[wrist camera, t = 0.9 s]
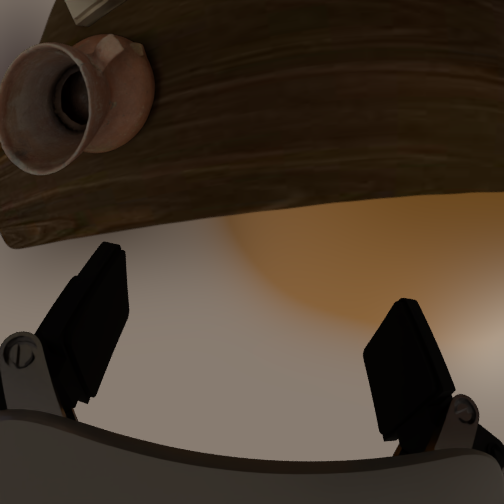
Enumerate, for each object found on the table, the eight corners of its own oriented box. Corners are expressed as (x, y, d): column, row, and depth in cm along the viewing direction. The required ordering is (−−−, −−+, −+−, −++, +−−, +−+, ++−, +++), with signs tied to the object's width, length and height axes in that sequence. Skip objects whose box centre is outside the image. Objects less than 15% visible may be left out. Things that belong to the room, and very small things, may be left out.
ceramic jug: (129, 6, 24) (58, -13, 12) (195, 91, 31) (148, 106, 19) (39, 101, 30) (-35, 129, 19) (93, 176, 37) (31, 227, 25)
